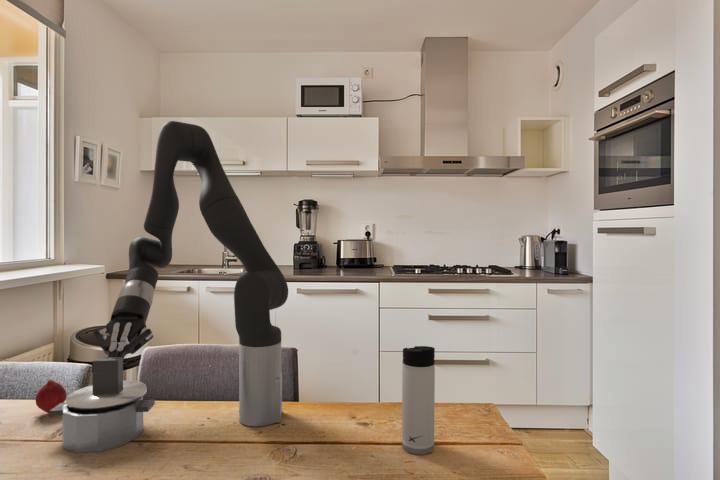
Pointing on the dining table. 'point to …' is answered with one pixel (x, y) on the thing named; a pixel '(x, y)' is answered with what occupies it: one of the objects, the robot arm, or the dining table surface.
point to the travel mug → (418, 399)
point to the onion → (50, 396)
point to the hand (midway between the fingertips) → (111, 370)
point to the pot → (101, 425)
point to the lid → (106, 387)
